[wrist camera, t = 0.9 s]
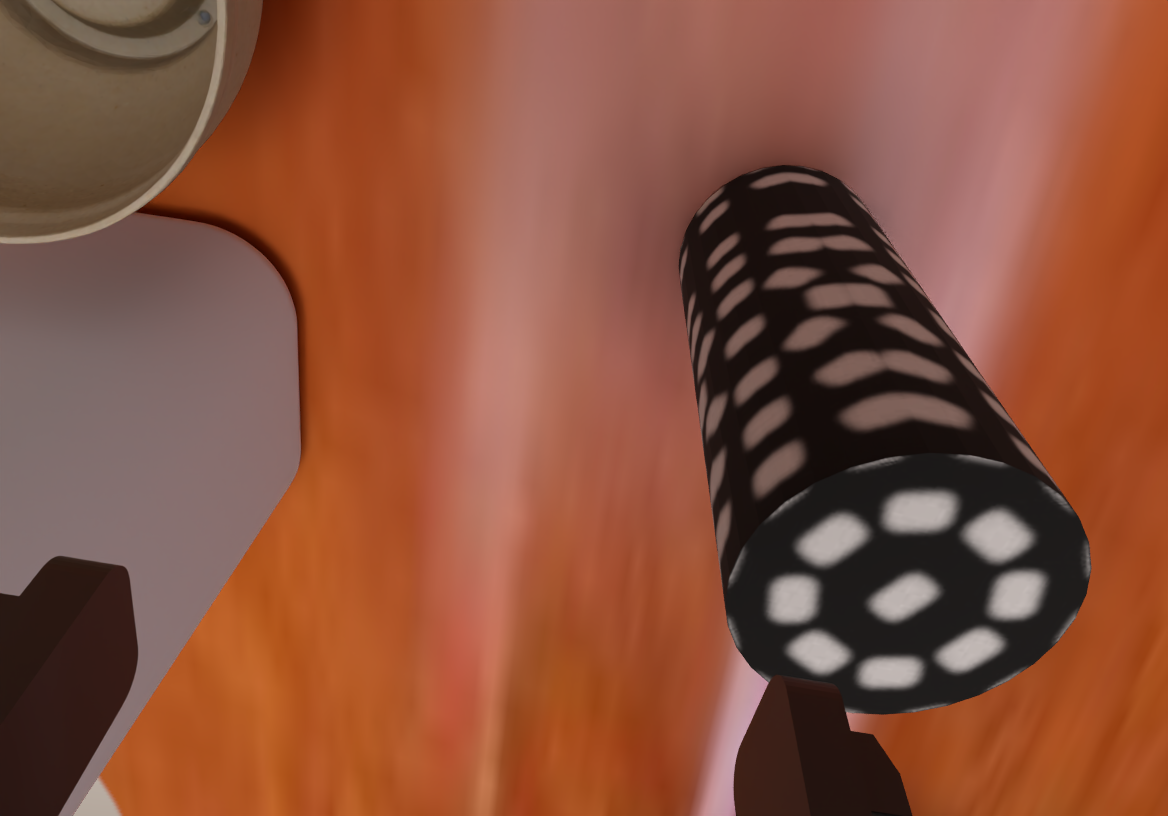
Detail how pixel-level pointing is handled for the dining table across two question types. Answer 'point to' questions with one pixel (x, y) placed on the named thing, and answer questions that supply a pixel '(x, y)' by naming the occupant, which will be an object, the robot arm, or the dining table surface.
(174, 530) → the plastic bottle
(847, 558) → the spotted tube
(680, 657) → the dining table surface
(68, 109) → the planter bowl
